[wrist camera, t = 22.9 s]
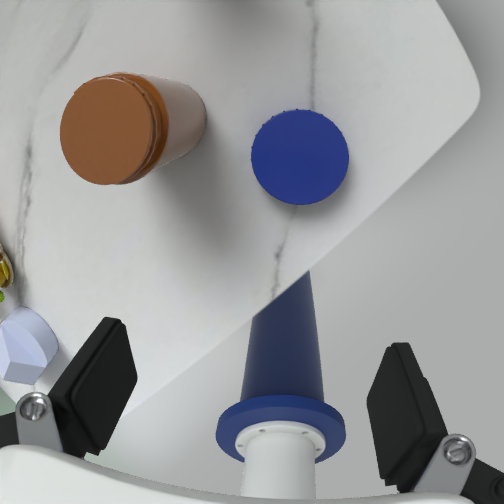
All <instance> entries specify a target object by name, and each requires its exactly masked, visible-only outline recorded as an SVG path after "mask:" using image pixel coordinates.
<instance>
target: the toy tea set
mask: <svg viewBox="0 0 504 504" xmlns="http://www.w3.org/2000/svg"><path fill="white" fill-rule="evenodd" d="M13 280H14V273H13V268H12V265H11V263H10V260H9V258H8V257H7V255H6V253H5V252H4V251H3V246H2V245H1V243H0V287H1V288H8V287H10V286H11V285H12V283H13ZM3 300H4V294H3V292H1V291H0V302H2V301H3Z"/></svg>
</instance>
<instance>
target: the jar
mask: <svg viewBox="0 0 504 504" xmlns="http://www.w3.org/2000/svg"><path fill="white" fill-rule="evenodd" d="M205 125H206V112H205V107H204V104H203V102H202V100H201V98H200V97H199V95H198V94H197V93H196V92H195V91H194V90H193V89H192V88H191V87H189V86H188V85H186V84H184V83H181V82H177V81H173V80H168V79H163V78H158V77H152V76H147V75H141V74H135V73H128V72H117V73H112V74H108V75H106V76H102V77H96V78H94V79H92V80H90V81H88V82H86V83H84V84H82V85H81V86H80V87H79V88H78V89H77V90H76V91H75V92H74V95H73V96H72V98H71V99H70V100H69V102H68V104H67V106H66V108H65V110H64V113H63V116H62V120H61V126H60V141H61V146H62V150H63V153H64V156H65V158H66V160H67V162H68V164H69V165H70V167H71V168H72V169H73V170H74V171H75V172H76V173H77V174H78V175H79V176H80V177H82V178H83V179H85V180H87V181H89V182H91V183H94V184H99V185H110V184H116V185H121V184H128V183H132V182H134V181H137V180H139V179H141V178H142V177H144V176H146V175H148V174H150V173H151V172H153V171H155V170H157V169H159V168H160V167H162V166H164V165H166V164H168V163H170V162H171V161H173V160H175V159H177V158H179V157H181V156H183V155H185V154H186V153H188V152H189V151H191V150H192V149H193V148H194V147H195V146H196V145H197V143H198V142H199V141H200V139H201V137H202V135H203V132H204V129H205Z"/></svg>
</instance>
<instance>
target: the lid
mask: <svg viewBox="0 0 504 504" xmlns="http://www.w3.org/2000/svg"><path fill="white" fill-rule="evenodd" d="M255 136H256V137H255V140H254V142H253V146H252V147H251V148H252V153H251V161H252V167H253V172H254V174H255V176H256V178H257V180H258V181H259V183H260V184H261V186H262V187H263V188H264V189H265V190H266V191H267V192H268V193H269V194H270V195H272V196H273V197H275V198H277V199H278V200H281V201H283V202H286V203H290V204H296V205H305V204H311V203H315V202H318V201H321V200H323V199H325V198H326V197H328V196H329V195H331V194H332V193H333V192H334V191H335V190H336V189H337V188H338V187H339V186H340V184H341V183H342V181H343V179H344V177H345V175H346V172H347V168H348V162H349V154H348V148H347V143H346V141H345V138H344V137H343V135H342V132H341V131H340V130H339V129H338V127H337V126H336V125H335V124H334V122H332V121H330V120H329V119H328V118H326V117H324V116H323V115H322V114H318V113H316V112H312V111H311V110H298V109H296V110H290V111H286V112H285V111H283V113H280V114H278V115H276V116H272V118H271V119H270V120H269V121H267V122H266V123H265V124H263V125H262V128H261V129H260V130H259V132H258V134H256V135H255Z"/></svg>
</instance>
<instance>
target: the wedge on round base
mask: <svg viewBox="0 0 504 504" xmlns="http://www.w3.org/2000/svg"><path fill="white" fill-rule="evenodd" d="M57 351H58V343H57V339H56V337H55V335H54V333H53V331H52V330H51V328H50V327H49V325H48V324H47V323H46V322H45V321H44V320H43V319H42V318H41V317H40V316H39V315H38V314H37V313H35V312H34V311H32V310H31V309H29V308H26V307H17V308H16V309H15V310H14V311H13V312H12V313H11V314H10V315H9V316H8V317H7V318H6V319H5V320H4V321H3V322H2V323H1V326H0V372H1V376H2V379H3V380H5V381H10V382H16V383H22V384H29V385H34V384H35V382H36V381H37V379H38V378H39V377H40V375H41V374H42V372H43V371H44V369H45V368H46V366H47V365H48V364H49V362H50V361H51V360H52V358H53V357H54V355H55V354H56V353H57Z"/></svg>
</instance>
